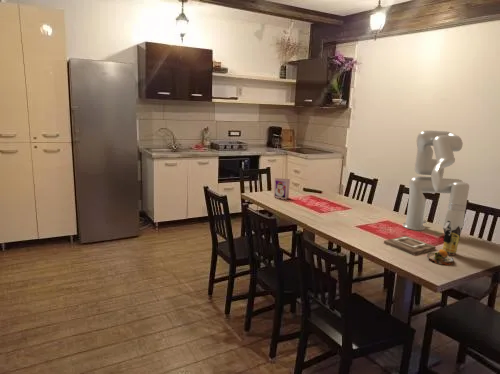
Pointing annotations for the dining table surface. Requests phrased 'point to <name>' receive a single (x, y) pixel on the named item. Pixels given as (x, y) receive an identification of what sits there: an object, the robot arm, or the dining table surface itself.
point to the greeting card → (281, 188)
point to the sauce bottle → (452, 242)
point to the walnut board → (409, 245)
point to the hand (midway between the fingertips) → (451, 240)
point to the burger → (440, 257)
